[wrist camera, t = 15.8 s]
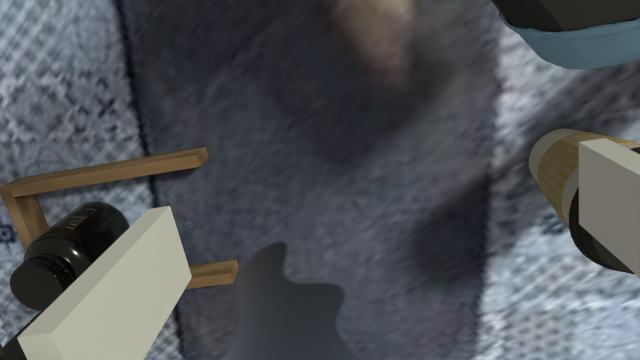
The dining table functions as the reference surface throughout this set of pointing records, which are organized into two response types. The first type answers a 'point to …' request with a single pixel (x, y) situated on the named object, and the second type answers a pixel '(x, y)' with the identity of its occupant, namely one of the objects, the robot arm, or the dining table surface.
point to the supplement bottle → (66, 253)
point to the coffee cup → (571, 186)
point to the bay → (29, 212)
